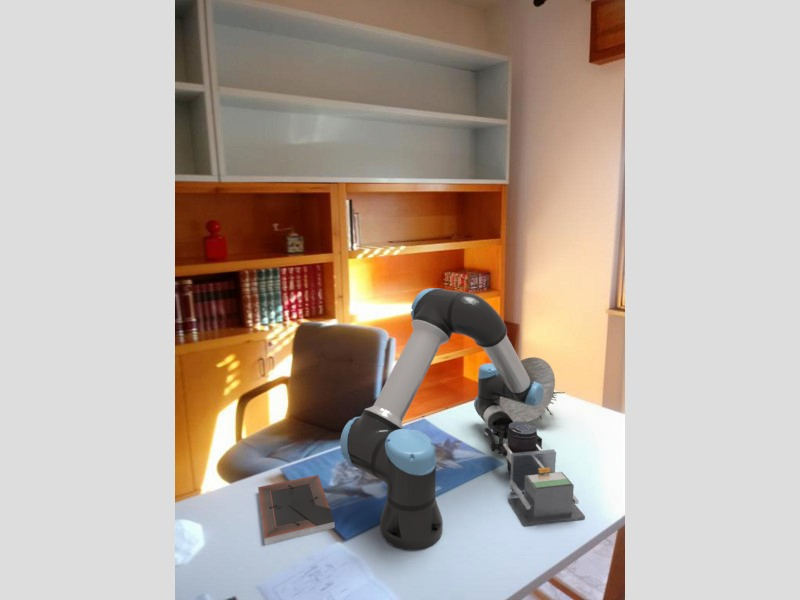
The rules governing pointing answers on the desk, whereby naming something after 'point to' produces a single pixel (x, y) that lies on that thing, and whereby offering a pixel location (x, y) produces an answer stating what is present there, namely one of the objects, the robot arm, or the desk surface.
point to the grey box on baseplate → (547, 500)
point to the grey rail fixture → (531, 469)
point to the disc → (540, 374)
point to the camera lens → (521, 438)
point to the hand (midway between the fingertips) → (528, 458)
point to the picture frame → (294, 509)
